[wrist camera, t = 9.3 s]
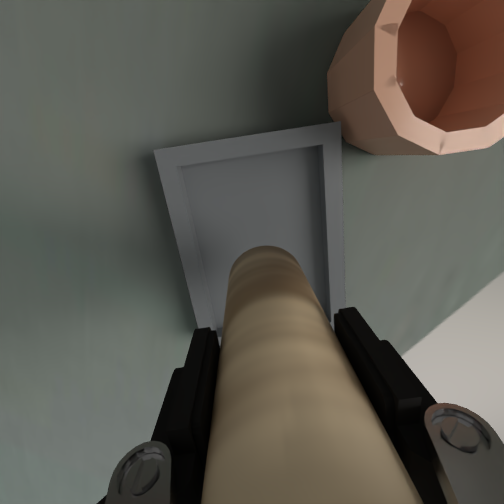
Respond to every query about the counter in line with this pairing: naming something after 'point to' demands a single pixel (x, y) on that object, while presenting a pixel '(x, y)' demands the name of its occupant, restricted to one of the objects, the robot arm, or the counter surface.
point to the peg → (292, 401)
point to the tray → (257, 210)
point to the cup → (420, 77)
